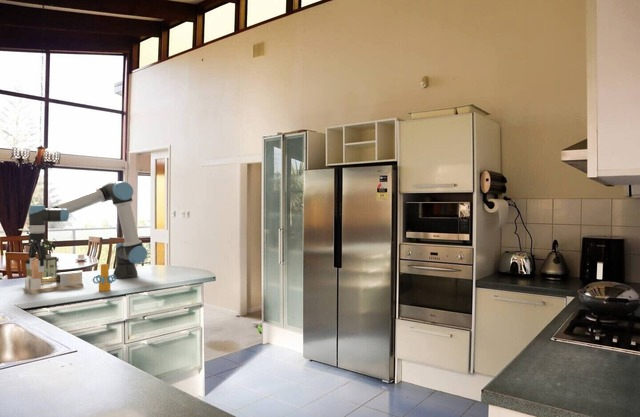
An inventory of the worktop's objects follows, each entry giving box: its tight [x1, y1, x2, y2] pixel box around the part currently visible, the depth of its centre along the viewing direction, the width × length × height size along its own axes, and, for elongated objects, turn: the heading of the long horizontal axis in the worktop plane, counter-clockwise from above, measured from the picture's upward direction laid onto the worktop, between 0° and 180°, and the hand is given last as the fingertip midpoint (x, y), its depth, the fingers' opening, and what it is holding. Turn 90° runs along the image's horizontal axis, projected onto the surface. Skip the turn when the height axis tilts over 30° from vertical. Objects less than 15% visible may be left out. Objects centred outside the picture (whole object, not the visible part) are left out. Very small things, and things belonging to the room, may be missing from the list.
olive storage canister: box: [24, 258, 32, 277], centre depth 269 cm, size 10×10×15 cm
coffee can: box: [37, 256, 58, 278], centre depth 286 cm, size 10×10×14 cm
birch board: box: [23, 283, 84, 295], centre depth 254 cm, size 28×9×2 cm, turn 140°
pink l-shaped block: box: [32, 258, 60, 285], centre depth 251 cm, size 16×3×14 cm, turn 140°
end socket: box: [24, 275, 42, 291], centre depth 246 cm, size 6×6×7 cm
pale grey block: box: [55, 270, 83, 287], centre depth 260 cm, size 12×6×7 cm, turn 140°
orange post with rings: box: [92, 263, 117, 292], centre depth 252 cm, size 12×10×15 cm
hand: (36, 270), depth 247 cm, fingers open, 13 cm apart
